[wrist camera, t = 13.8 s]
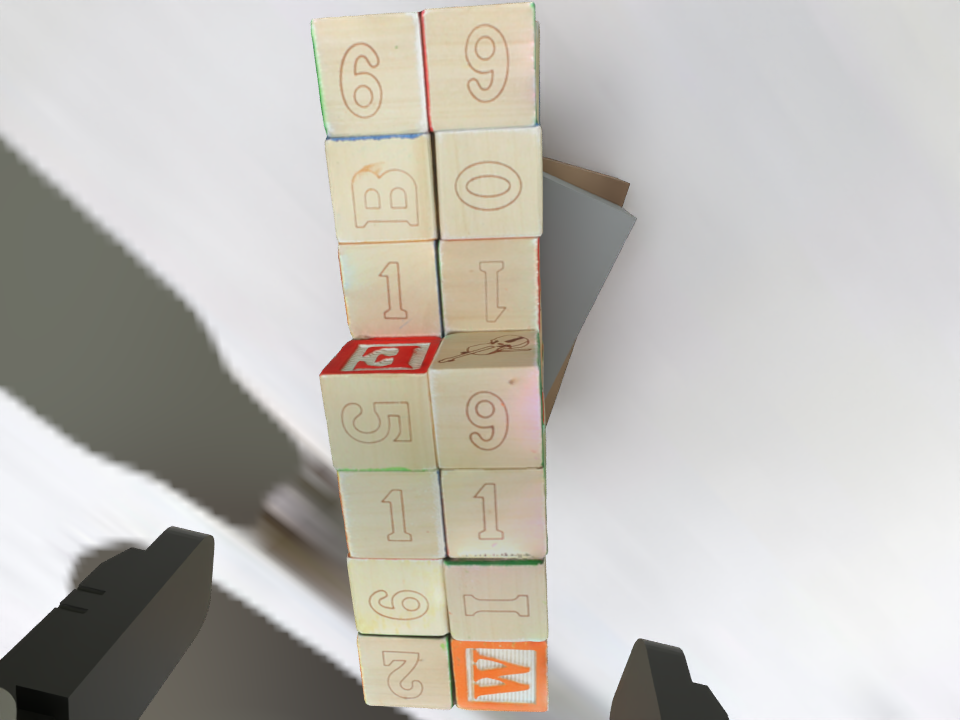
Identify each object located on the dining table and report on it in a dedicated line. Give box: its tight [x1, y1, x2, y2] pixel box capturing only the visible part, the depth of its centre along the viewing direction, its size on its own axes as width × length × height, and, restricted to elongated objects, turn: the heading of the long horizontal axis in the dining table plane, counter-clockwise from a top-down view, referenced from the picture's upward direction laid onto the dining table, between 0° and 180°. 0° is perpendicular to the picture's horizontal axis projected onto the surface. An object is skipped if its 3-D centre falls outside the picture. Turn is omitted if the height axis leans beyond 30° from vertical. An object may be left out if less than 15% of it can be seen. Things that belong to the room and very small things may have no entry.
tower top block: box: [539, 171, 637, 400], centre depth 31 cm, size 9×14×6 cm, turn 157°
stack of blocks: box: [311, 2, 549, 712], centre depth 23 cm, size 21×6×12 cm, turn 2°
